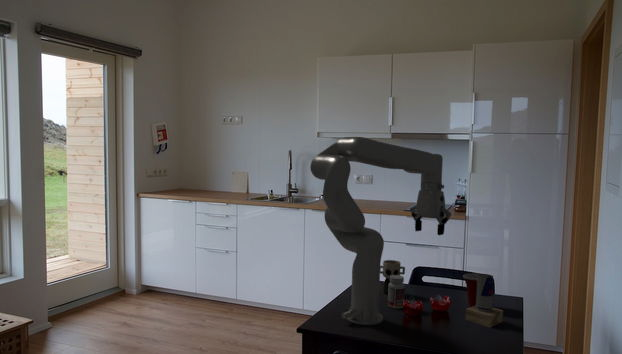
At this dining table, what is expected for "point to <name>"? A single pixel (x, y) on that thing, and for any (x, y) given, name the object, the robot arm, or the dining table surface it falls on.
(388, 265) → the character mug
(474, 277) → the plastic cup
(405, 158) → the robot arm
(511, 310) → the dining table surface
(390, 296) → the pill bottle
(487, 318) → the oak block
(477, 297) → the energy drink
